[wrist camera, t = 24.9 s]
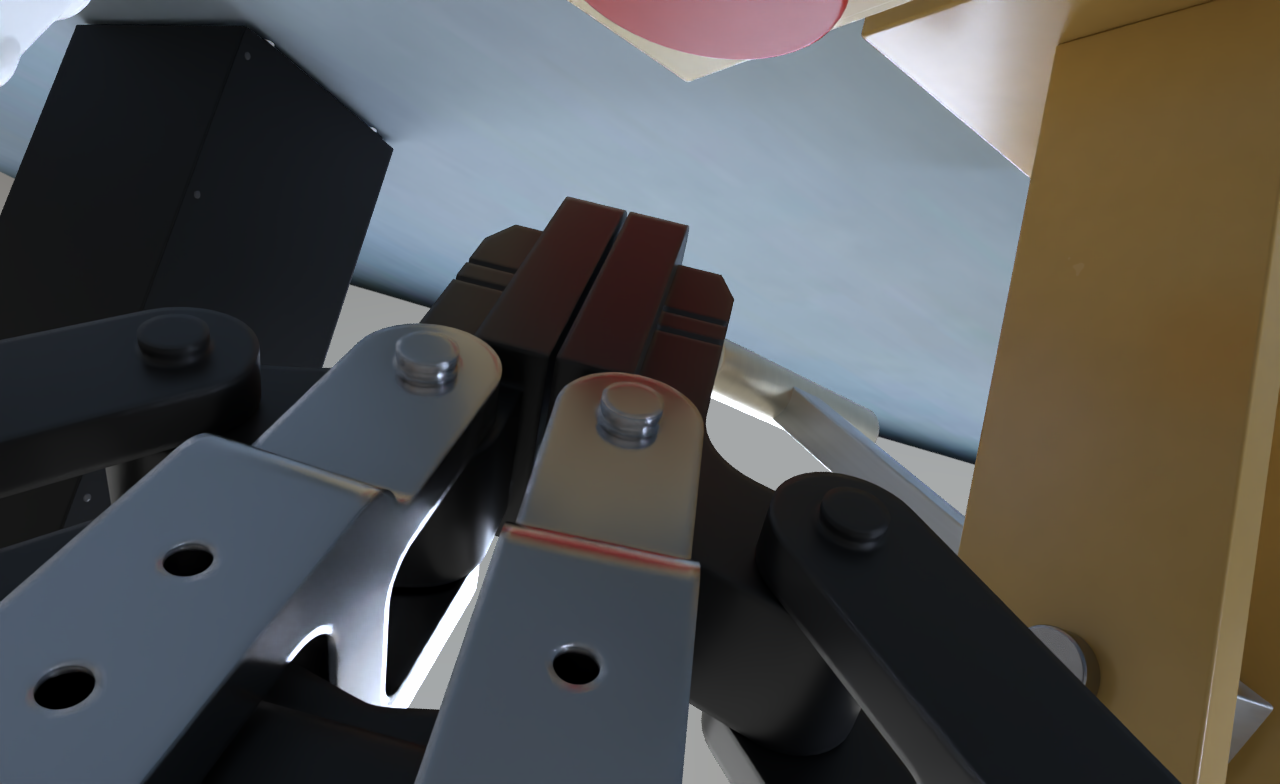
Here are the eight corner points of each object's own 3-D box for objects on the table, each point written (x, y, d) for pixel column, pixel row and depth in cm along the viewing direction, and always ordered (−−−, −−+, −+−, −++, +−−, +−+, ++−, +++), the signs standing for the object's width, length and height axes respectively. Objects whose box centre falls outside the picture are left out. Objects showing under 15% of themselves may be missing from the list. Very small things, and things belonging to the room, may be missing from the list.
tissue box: (73, 18, 33) (-282, 900, 28) (248, 18, 30) (-117, 1015, 25) (243, 136, 40) (-17, 860, 35) (399, 146, 37) (139, 946, 32)
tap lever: (866, 384, 28) (819, 456, 28) (714, 306, 24) (663, 389, 25) (1318, 721, 18) (1230, 824, 18) (1166, 670, 14) (1063, 798, 15)
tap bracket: (1079, 173, 27) (975, 742, 24) (870, -14, 21) (705, 688, 19) (1671, 71, 18) (1615, 946, 15) (1566, -286, 13) (1452, 954, 10)
